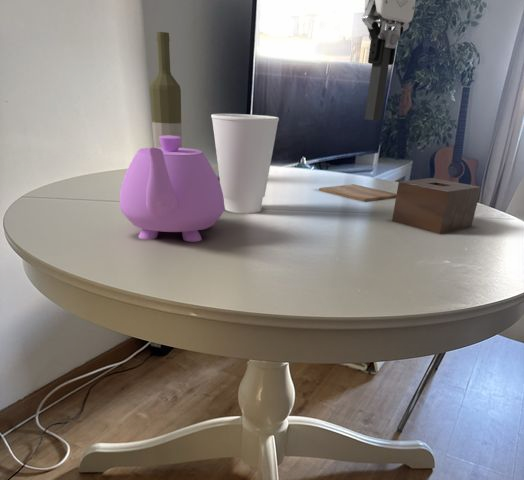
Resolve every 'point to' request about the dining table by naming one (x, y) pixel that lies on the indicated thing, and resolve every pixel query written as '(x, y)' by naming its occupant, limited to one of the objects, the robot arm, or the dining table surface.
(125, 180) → the teapot
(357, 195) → the wooden board
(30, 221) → the dining table surface
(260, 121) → the cup
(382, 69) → the long square rod
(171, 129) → the bottle
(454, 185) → the holder
